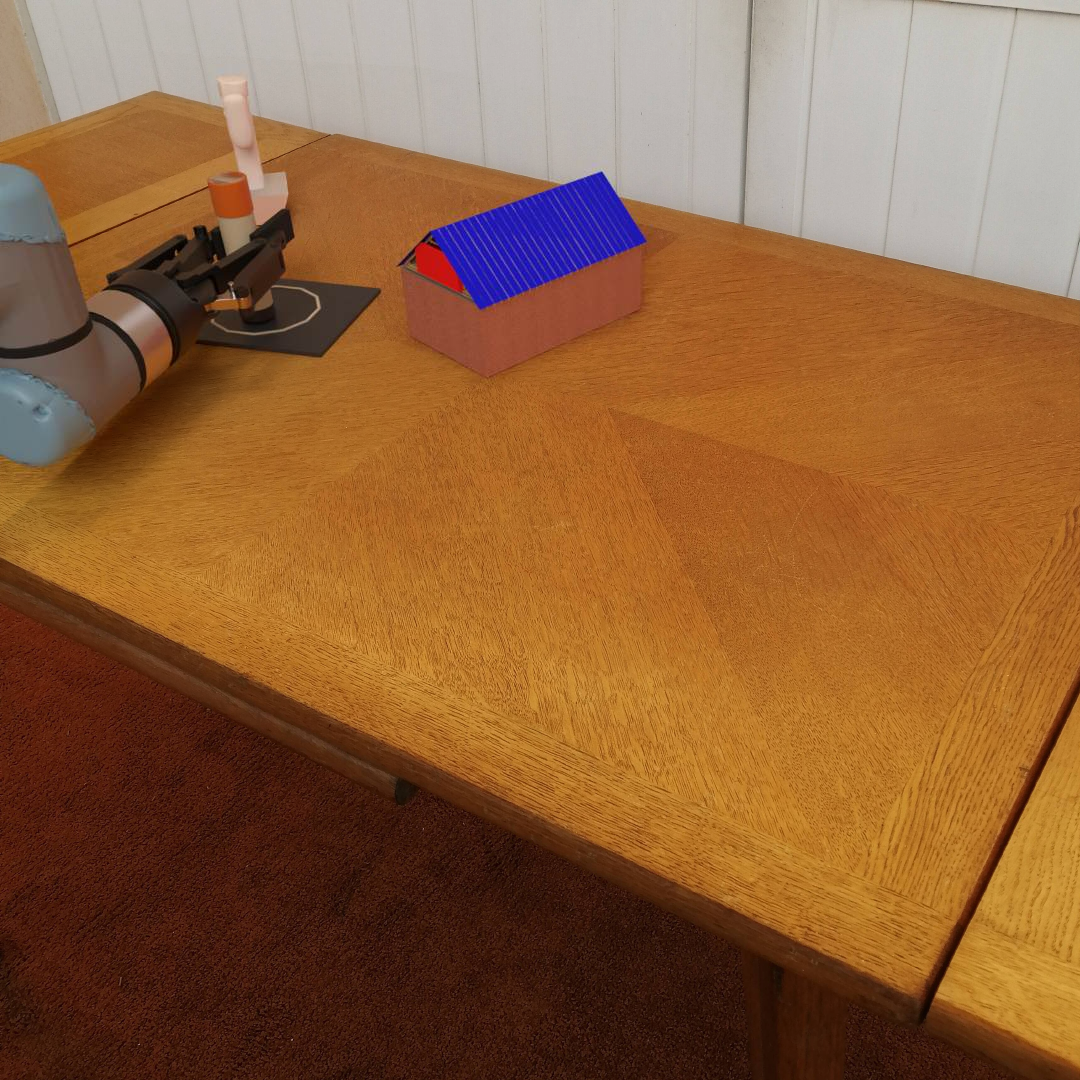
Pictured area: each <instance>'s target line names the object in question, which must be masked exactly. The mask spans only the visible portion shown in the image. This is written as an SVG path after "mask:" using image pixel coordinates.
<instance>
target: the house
mask: <svg viewBox="0 0 1080 1080" xmlns="http://www.w3.org/2000/svg"><path fill="white" fill-rule="evenodd" d="M646 243H648V240H647V239H646V237H645V236H644V234H643V233H642V231H641V229H640V228H639V226H638V225H637V223H636V222H635V220H634V219H633V217H632V216H631V214H630V212H629V211H628V209H627V208H626V206H625V204H624V203H623V201H622V200H621V199H620V197H619V195H618V194H617V192H616V191H615V188H614V187H613V186H612V184H611V183H610V181H609V179H608V178H607V176H606V175H605V173H604V172H603V171H602V170H601V171H598V172H596V173H592V174H589V175H587V176H584V177H581V178H578V179H576V180H572V181H570V182H567V183H564V184H561V185H558V186H555V187H552V188H549V189H546V190H544V191H541V192H538V193H535V194H533V195H530V196H526V197H523V198H521V199H518V200H515V201H512V202H509V203H506V204H504V205H501V206H498V207H496V208H493V209H489V210H487V211H483V212H480V213H478V214H475V215H473V216H470V217H466V218H464V219H460V220H457V221H455V222H452V223H449V224H447V225H443V226H441V227H437V228H435V229H431V230H429V231H428V232H427V234H425V236H424V237H423V238H422V239H421V240H420V241H418V243H417V244H416V245H415V246H414V247H413V248H412V249H411V251H409V252H408V254H407V255H406V256H405V257H404V258H403V259H402V260H401V261H400V262H399V263H398V264H397V265H396V266H395V268H398V267H400V275H401V280H402V281H401V282H402V289H403V295H404V304H405V311H406V318H407V319H406V320H407V325H408V334H409V336H410V337H412V338H413V339H415V340H417V341H419V342H420V343H423V344H424V345H425V346H427V347H429V348H431V349H433V350H435V351H437V352H439V353H440V354H442V355H444V356H446V357H448V358H450V359H451V360H453V361H455V362H457V363H459V364H460V365H462V366H464V367H466V368H468V369H470V370H471V371H473V372H475V373H476V374H478V375H481V377H484V378H485V379H487V378H489V377H492V376H494V375H497V374H498V373H501V372H503V371H505V370H508V369H509V368H511V367H515V366H516V365H519V364H521V363H523V362H525V361H528V360H530V359H532V358H534V357H536V356H538V355H541V354H543V353H546V352H547V351H550V350H552V349H554V348H556V347H559V346H561V345H564V344H565V343H567V342H570V341H572V340H574V339H576V338H579V337H581V336H583V335H585V334H587V333H590V332H592V331H594V330H596V329H599V328H601V327H603V326H606V325H608V324H610V323H612V322H614V321H616V320H618V319H621V318H624V317H626V316H627V315H629V314H633V313H635V312H636V311H639V310H641V309H642V297H643V296H642V293H643V291H642V290H643V289H642V287H643V286H642V285H643V244H646Z"/></svg>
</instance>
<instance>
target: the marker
mask: <svg viewBox="0 0 1080 1080" xmlns="http://www.w3.org/2000/svg"><path fill="white" fill-rule="evenodd" d="M206 181H207V182H206V183H207V187H208V191H209V195H210V199H211V203H212V207H213V211H214V215H215V216H216V220H217V223H218V226H219V227H220V231H221V236H222V240H223V244H224V248H225V252H226V256H228V255H229V254H231V253H233V252H234V251H236V250H238V249H239V248H241V247H242V246H244V245H246V244H247V243H249V242H250V237H249V235H250V234H251V233H252V232H254V231H255V230H256V229H257V228H258V226H256V222H255V217H254V213H253V210H254V207H253V203H252V198H251V194H250V189H249V185H248V180H247V176H246V174H244V173H242V172H239V171H237V170H236V171H234V170H233V171H231V170H230V171H222V172H217V173H214V174H211V175H210V176H208V177H207V179H206ZM275 314H276V310H275V305H274V301H273V299H272V294H271V290H270V289H269V290H268V291H267V292H266V293H265V295H264V296H263V297H262V298H261V299H260V300H259V301H258V302H257V303H256V304H255V310H254V314H253V315H252V316H249V317H241V319H242V320H244V321H246V322H254V323H255V322H263V321H266V320H269V319H271V318H273V317H274V316H275Z"/></svg>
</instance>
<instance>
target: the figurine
mask: <svg viewBox="0 0 1080 1080" xmlns="http://www.w3.org/2000/svg"><path fill="white" fill-rule="evenodd" d="M216 82H217V87H218V92H219V96H220V99H221V105H222V110H223V116H224V118H225V121H226V126H227V130H228V136H229V138H230V141H231V143H232V148H233V153H234V157H235V161H236V168H237V170H238V171H237V172H242V173H244V174H246V176H247V180H248V185H249V189H250V194H251V198H252V203H253V207H254V210H253V213H254V217H255V222H256V225H262V224H264V223H265V222H266V221H267V220H269V219H270V218H271V217H272V216H274V215H275V214H276V213H277V212H279V211H280V210H281V209H286V205H287V203H288V202H287V201H288V197H289V189H288V181H287V173H286V171H280V172H279V171H277V172H271V173H264V171H263V166H262V161H261V157H260V156H261V155H260V151H259V147H258V140H257V136H256V130H255V125H254V119H253V115H252V112H251V108H250V107H251V106H250V103H249V98H248V97H249V88H248V79H247V78H246V77H244V76H240V75H228V76H219V77H217V79H216Z"/></svg>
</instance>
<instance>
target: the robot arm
mask: <svg viewBox="0 0 1080 1080" xmlns="http://www.w3.org/2000/svg"><path fill="white" fill-rule="evenodd" d="M290 210H291V209H289V208H285V209H281V210H280V211H279V212H277V213H276V214H275V215H274V216H272V217H271V218H270V219H269V220H267V221H266V222H265V223H264V224H262V225H261V226H258V227H257V229H256V230H255V231H254V232H252V233H251V234H250V235H249V237H250V242H249V243H247V244H246V245H244V246H242V247H241V248H239V249H238V250H236V251H234V252H233V253H231V254H229V255H228V256H226V252H225V248H224V244H223V240H222V236H221V231H220V227H219V225H217V226H214V227H213V228H212V229H211V230H209V231H208V229H207V226H206V225H205V224H204V225H203V224H198V225H195V226H193V227H192V230H193V234H194V236H193V237H192V238H191V239H188V236H187V234H183V233H182V234H176V235H174V236H172V237H171V238H169V239H168V240H166V241H165V242H163V243H162V244H160V245H158V246H157V247H155V248H154V249H152V250H150V251H149V252H147V253H146V254H144V255H143V256H141V257H140V258H138V259H136V260H135V261H133V262H132V263H130V264H128V265H126V266H124V267H122V268H119V269H116V270H114V271H112V272H108V273H107V274H106V275H105V278H106V281H107V284H108V285H106V286H105V287H104V288H102V289H101V290H100V291H98V292H97V293H95V294H94V295H92V296H90V297H89V298H88V299H86V298H85V295H84V293H83V290H82V286H81V282H80V280H79V277H78V273H77V270H76V267H75V264H74V263H75V262H74V261H73V258H72V254H71V250H70V248H69V244H68V241H67V239H68V237H67V234H66V230H64V229H63V227H62V225H61V224H62V223H61V222H60V219H59V216H58V214H57V212H56V210H55V206H54V204H53V201H52V199H51V197H50V195H49V193H48V191H47V188H46V186H45V184H44V182H43V181H42V179H41V177H39V176H38V175H36V173H34V172H33V171H32V170H29V169H26V168H25V167H23V166H21V165H17V164H13V163H3V162H0V456H2V457H3V458H5V459H7V460H9V461H11V462H14V463H16V464H18V465H22V466H26V467H27V466H28V467H33V468H47V467H51V466H54V465H57V464H59V463H61V462H62V461H63V460H65V459H66V458H67V457H68V456H70V455H71V454H72V453H74V452H75V451H76V450H78V449H79V448H80V447H81V446H84V445H86V444H88V443H90V442H92V440H93V439H94V438H95V436H96V435H97V434H98V433H99V432H100V431H101V430H102V429H103V428H104V427H105V426H107V424H108V423H109V422H110V421H111V420H112V419H114V417H115V416H116V415H117V414H118V413H119V412H121V410H122V409H123V408H124V407H125V406H126V405H128V403H131V402H132V401H134V399H136V397H138V396H139V395H140V394H141V393H142V392H143V391H144V390H145V389H146V388H147V387H148V386H150V385H151V384H152V383H153V382H154V381H155V380H157V379H158V377H160V376H162V374H164V372H165V371H166V370H167V369H169V368H171V367H172V366H174V364H176V363H177V362H178V361H180V359H181V358H183V356H185V355H186V354H187V353H188V352H189V351H191V349H192V348H193V347H194V346H195V344H197V343H196V341H197V338H198V335H199V332H200V329H201V327H202V324H203V323H205V322H207V321H209V320H211V319H214V318H216V317H217V316H218V315H219V314H220V311H221V310H228V309H234V310H235V311H239V315H240V316H241V317H249V316H252V315H253V314H254V310H255V304H256V303H257V302H258V301H259V300H260V299H261V298H262V297H263V296H264V295H265V293H266V292H267V291H268V290H269V289H270V288H271V287H272V286H273V285H274V284H275V283H276V281H277V280H278V279H279V278H282V276H283V275H284V274H285V273H286V272H287V268H286V262H285V259H284V254H283V251H284V250H285V249H286V248H287V247H288V246H287V245H288V244H289V243H290V242H291V241H293V239H295V238H296V236H295V231H294V226H293V221H292V215H291V211H290ZM215 256H216V259H215ZM215 260H217V261H216V262H215Z"/></svg>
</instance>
